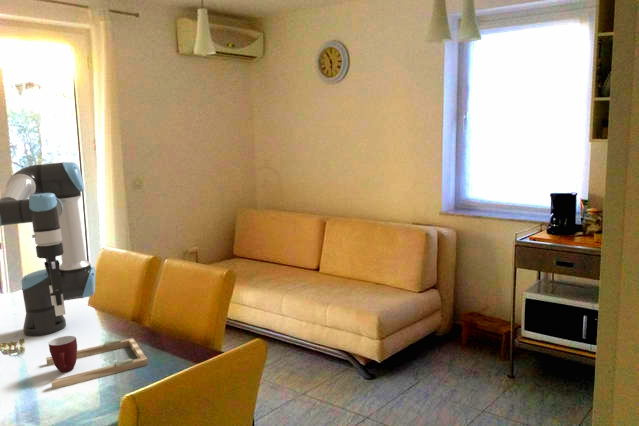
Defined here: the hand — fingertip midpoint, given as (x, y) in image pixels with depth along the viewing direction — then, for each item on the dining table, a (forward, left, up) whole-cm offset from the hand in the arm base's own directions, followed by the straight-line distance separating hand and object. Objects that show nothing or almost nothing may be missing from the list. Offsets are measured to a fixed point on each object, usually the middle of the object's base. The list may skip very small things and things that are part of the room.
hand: (58, 309), depth 177 cm
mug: (0, 0, -21) cm, 21 cm away
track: (0, +9, -21) cm, 22 cm away
